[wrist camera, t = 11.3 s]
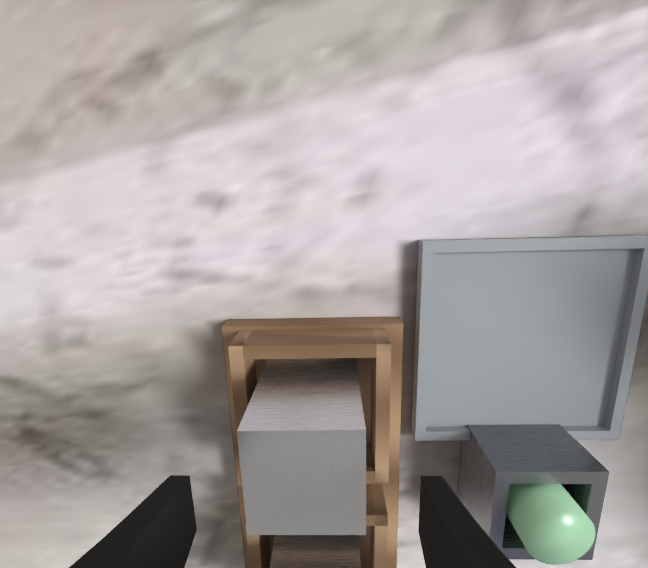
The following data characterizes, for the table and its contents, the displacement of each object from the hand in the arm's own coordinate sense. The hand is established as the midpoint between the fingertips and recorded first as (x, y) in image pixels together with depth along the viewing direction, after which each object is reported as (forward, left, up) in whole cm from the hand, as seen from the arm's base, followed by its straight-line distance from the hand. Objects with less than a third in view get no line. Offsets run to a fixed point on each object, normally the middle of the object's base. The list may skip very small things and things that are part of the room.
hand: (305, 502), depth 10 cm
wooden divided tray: (-4, 0, -7) cm, 8 cm away
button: (-4, -10, -7) cm, 13 cm away
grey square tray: (+2, -10, -7) cm, 12 cm away
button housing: (-4, -10, -7) cm, 13 cm away
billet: (0, 0, -6) cm, 6 cm away
